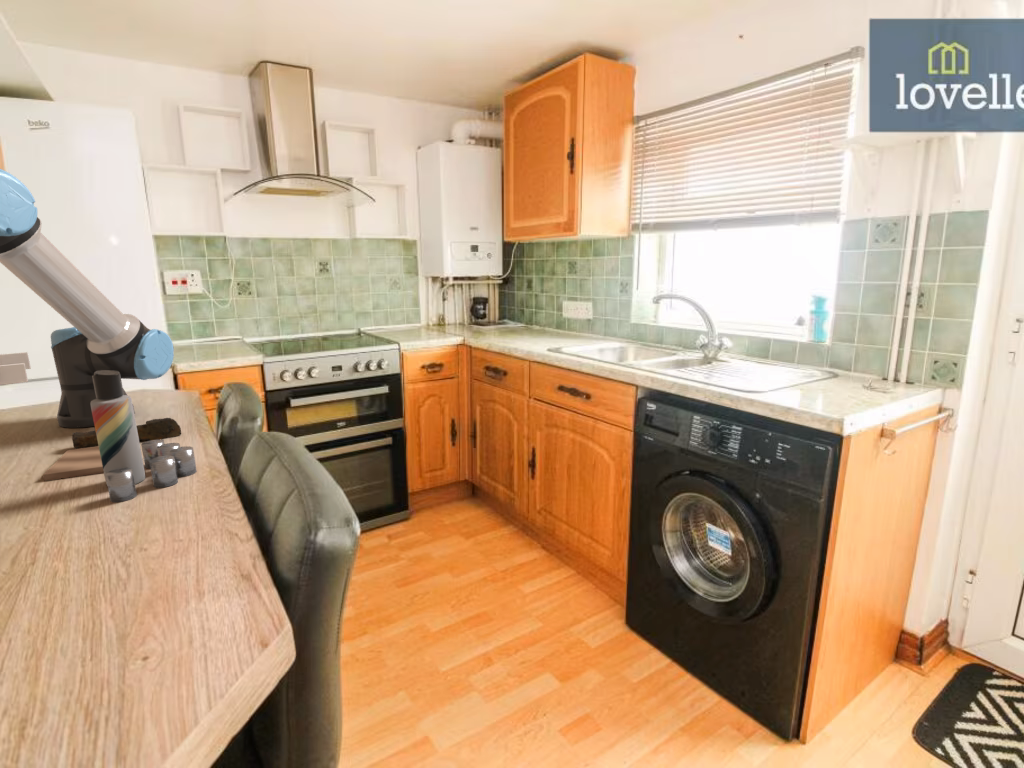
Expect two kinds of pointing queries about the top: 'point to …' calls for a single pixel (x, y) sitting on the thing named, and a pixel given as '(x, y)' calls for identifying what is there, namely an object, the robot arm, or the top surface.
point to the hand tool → (149, 431)
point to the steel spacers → (153, 469)
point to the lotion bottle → (116, 425)
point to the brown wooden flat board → (76, 464)
